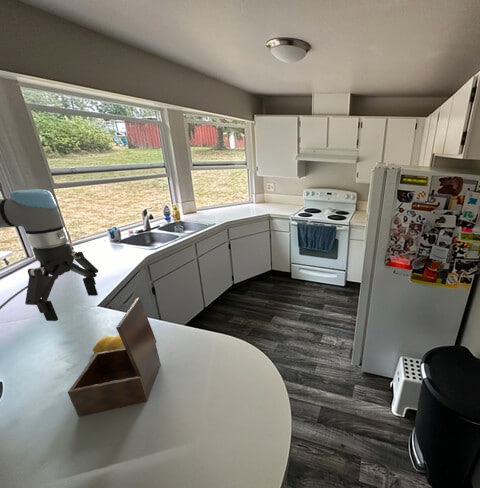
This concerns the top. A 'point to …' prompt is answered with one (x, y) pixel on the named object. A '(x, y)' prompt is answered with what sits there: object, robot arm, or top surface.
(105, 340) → the bread roll
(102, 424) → the top surface
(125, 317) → the bin lid
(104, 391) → the bin
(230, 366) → the top surface
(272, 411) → the top surface
